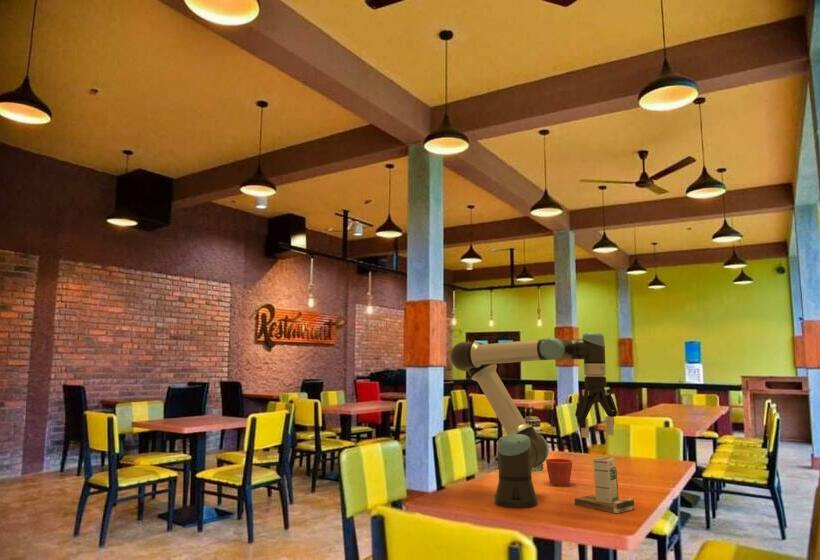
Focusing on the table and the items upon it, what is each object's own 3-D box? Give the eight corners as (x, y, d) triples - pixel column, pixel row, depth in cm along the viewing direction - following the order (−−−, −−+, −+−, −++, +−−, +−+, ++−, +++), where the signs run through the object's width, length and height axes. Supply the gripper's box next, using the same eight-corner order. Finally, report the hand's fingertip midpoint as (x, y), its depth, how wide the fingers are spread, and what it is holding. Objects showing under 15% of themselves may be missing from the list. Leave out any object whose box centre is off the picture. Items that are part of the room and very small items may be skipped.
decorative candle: (532, 469, 278) (530, 415, 282) (548, 471, 271) (546, 416, 275) (520, 471, 272) (518, 416, 276) (536, 474, 265) (533, 417, 269)
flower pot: (570, 481, 247) (569, 458, 248) (575, 487, 236) (574, 462, 237) (545, 481, 248) (544, 458, 249) (548, 486, 237) (547, 462, 238)
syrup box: (611, 504, 197) (609, 459, 199) (595, 501, 201) (592, 458, 203) (619, 501, 201) (616, 457, 203) (602, 498, 205) (600, 456, 207)
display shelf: (617, 513, 192) (616, 502, 193) (575, 504, 206) (574, 494, 207) (635, 509, 198) (634, 498, 199) (592, 500, 212) (592, 490, 212)
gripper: (580, 376, 201) (582, 439, 198) (625, 375, 215) (628, 434, 212) (563, 376, 208) (565, 437, 205) (608, 375, 221) (611, 432, 218)
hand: (597, 436), depth 208 cm, fingers open, 13 cm apart
